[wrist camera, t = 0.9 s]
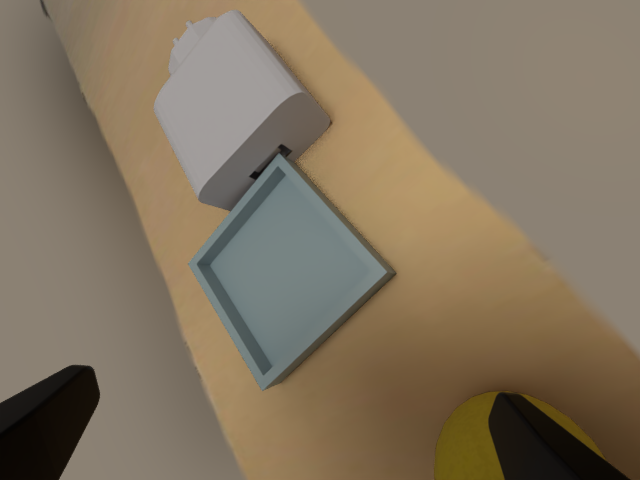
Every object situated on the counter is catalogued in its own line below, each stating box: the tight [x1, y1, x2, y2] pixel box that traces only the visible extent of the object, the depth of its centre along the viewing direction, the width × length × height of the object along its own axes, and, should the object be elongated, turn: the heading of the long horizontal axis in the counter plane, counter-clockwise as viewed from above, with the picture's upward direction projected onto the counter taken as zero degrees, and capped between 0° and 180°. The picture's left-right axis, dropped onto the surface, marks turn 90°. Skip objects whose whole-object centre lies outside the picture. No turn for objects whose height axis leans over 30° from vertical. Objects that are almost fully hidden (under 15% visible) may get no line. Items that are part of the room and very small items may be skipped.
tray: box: [188, 153, 396, 391], centre depth 21 cm, size 10×10×2 cm
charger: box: [154, 10, 330, 211], centre depth 24 cm, size 5×9×15 cm
